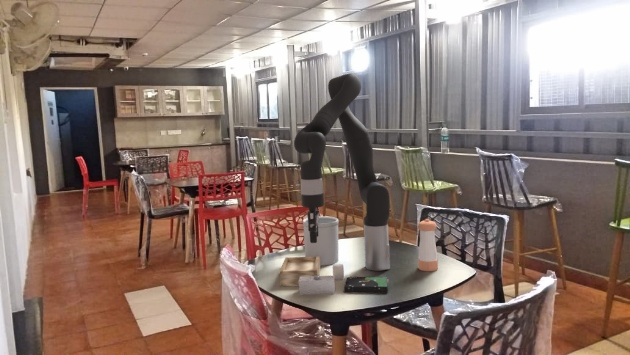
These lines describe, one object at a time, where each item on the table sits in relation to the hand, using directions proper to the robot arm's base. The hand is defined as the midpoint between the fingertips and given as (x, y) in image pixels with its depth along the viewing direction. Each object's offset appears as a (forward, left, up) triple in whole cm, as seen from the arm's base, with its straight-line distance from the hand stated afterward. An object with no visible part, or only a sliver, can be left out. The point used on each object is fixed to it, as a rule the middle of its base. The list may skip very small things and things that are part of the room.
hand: (314, 239), depth 162 cm
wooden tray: (+7, -15, -18) cm, 25 cm away
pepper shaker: (-41, -22, -18) cm, 50 cm away
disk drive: (-17, -3, -19) cm, 26 cm away
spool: (-7, -13, -18) cm, 23 cm away
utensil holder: (0, -36, -19) cm, 40 cm away
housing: (0, 0, -19) cm, 19 cm away
